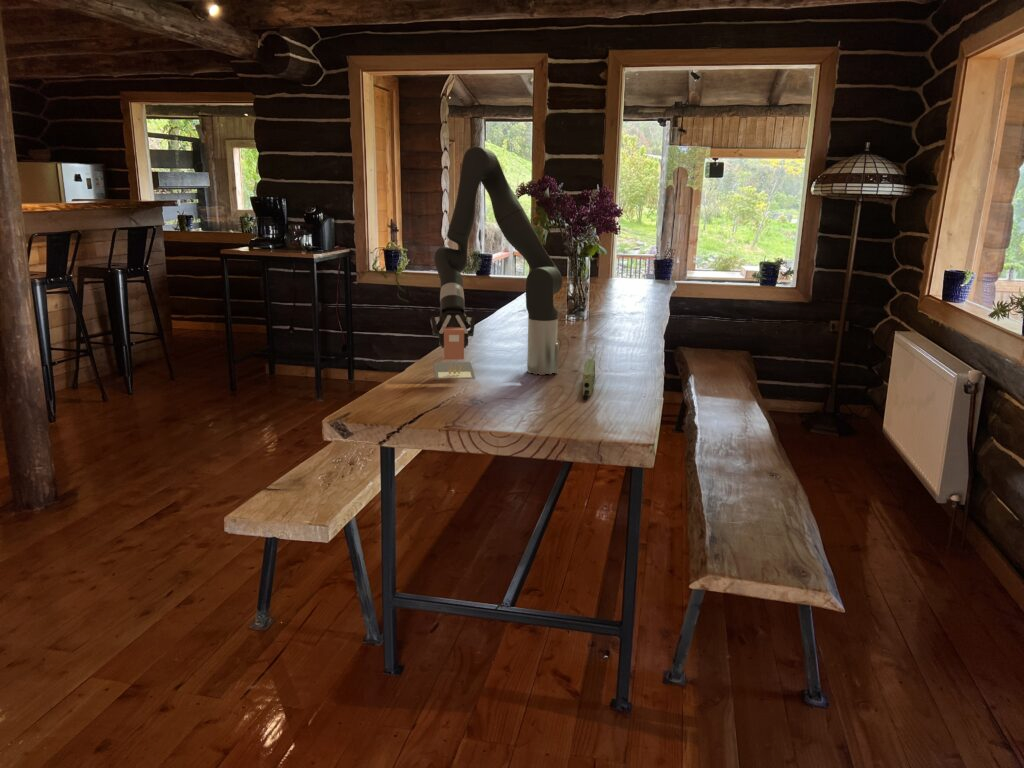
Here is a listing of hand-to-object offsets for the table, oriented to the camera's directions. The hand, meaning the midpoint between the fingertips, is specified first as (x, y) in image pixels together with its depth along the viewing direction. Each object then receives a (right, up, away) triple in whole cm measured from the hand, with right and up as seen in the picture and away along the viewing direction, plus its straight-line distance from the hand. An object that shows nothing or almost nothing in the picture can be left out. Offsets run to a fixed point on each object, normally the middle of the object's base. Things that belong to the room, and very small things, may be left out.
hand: (454, 346), depth 219 cm
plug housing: (0, -3, +3) cm, 4 cm away
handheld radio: (+40, -13, -6) cm, 42 cm away
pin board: (-1, -8, +10) cm, 13 cm away
